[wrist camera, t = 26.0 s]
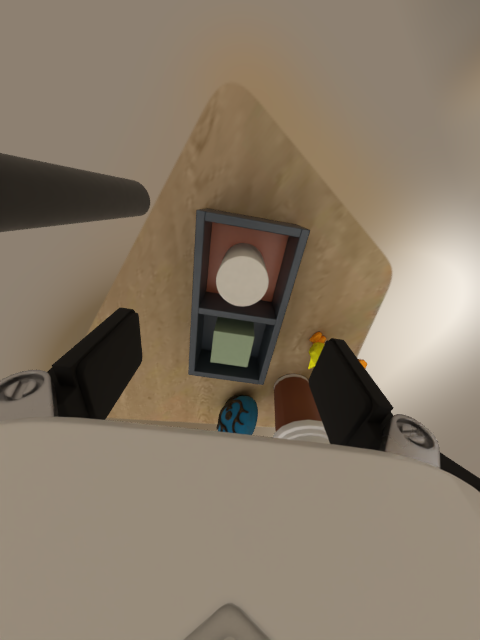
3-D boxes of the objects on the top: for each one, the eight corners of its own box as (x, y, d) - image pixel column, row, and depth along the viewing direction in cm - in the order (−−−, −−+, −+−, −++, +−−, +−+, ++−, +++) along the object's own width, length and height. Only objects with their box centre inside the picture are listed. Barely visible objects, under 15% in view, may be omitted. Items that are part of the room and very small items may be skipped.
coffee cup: (314, 404, 39) (339, 477, 28) (266, 404, 39) (272, 477, 29) (321, 367, 34) (353, 438, 24) (266, 368, 35) (274, 438, 25)
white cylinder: (221, 280, 27) (213, 302, 21) (225, 239, 24) (218, 251, 18) (259, 286, 27) (262, 310, 21) (267, 246, 25) (274, 260, 18)
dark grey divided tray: (196, 349, 33) (188, 374, 29) (206, 208, 24) (196, 209, 19) (261, 359, 34) (263, 385, 29) (297, 224, 24) (310, 230, 19)
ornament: (246, 382, 37) (246, 437, 28) (262, 396, 38) (267, 452, 30) (213, 402, 40) (204, 458, 31) (230, 414, 41) (225, 471, 32)
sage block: (215, 340, 32) (210, 362, 27) (218, 311, 29) (213, 330, 25) (247, 345, 32) (247, 367, 28) (253, 317, 30) (254, 336, 25)
